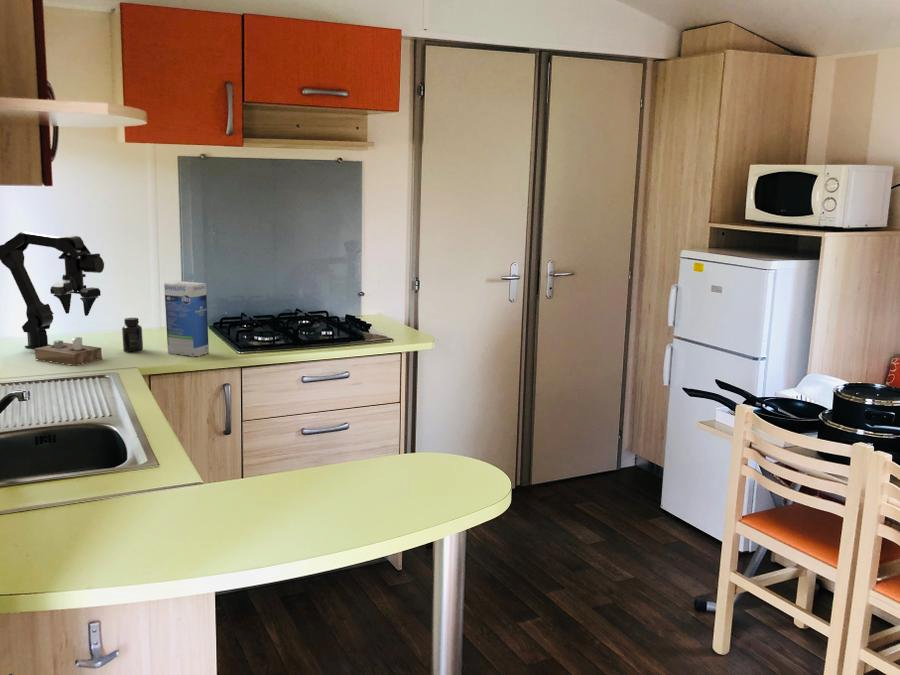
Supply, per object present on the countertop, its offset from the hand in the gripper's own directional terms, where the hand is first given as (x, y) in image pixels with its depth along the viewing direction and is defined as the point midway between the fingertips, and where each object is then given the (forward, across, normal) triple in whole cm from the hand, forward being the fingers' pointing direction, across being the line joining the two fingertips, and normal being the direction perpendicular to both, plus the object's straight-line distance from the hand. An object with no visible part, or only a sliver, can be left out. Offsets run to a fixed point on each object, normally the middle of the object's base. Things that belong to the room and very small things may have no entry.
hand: (76, 314), depth 312 cm
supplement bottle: (+13, +18, +8) cm, 24 cm away
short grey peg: (+13, +4, -13) cm, 19 cm away
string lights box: (+13, +38, +14) cm, 43 cm away
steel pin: (+13, +13, -13) cm, 23 cm away
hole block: (+13, +9, -13) cm, 20 cm away
